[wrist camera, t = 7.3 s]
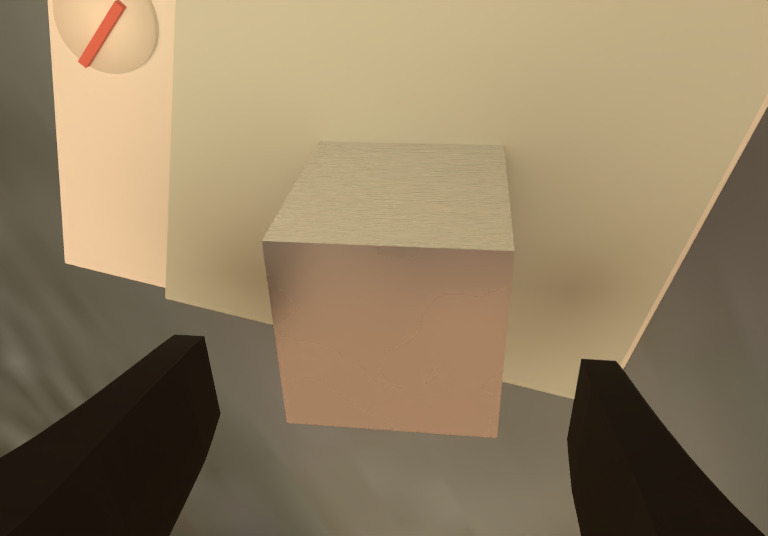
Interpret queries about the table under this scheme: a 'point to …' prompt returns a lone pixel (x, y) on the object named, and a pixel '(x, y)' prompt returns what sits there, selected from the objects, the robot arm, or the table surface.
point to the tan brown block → (393, 287)
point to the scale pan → (471, 140)
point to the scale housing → (142, 136)
